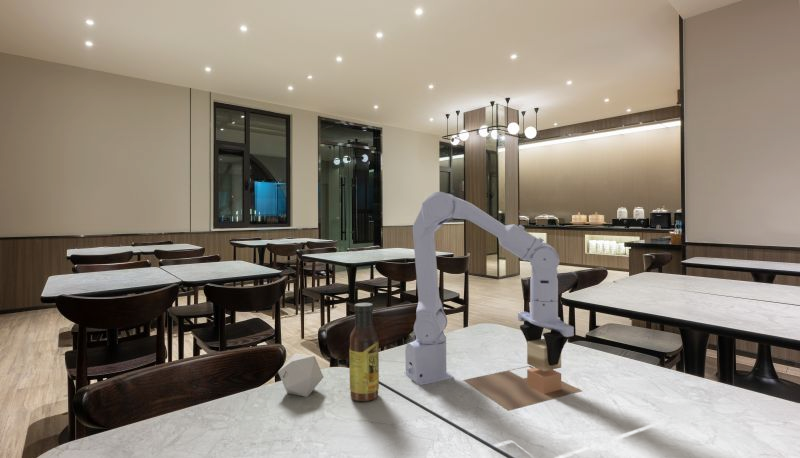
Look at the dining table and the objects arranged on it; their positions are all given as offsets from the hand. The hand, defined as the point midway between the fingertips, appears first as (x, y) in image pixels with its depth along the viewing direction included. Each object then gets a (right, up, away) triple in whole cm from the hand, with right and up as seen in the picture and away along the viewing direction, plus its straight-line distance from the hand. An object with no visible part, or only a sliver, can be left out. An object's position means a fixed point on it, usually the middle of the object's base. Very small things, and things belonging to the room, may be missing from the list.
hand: (543, 360), depth 88 cm
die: (-54, -7, 0) cm, 54 cm away
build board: (-5, -6, +1) cm, 8 cm away
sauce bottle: (-39, -7, -2) cm, 40 cm away
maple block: (0, -1, 0) cm, 1 cm away
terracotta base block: (0, -6, 0) cm, 6 cm away
